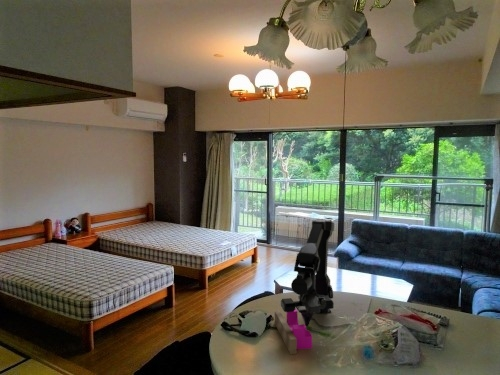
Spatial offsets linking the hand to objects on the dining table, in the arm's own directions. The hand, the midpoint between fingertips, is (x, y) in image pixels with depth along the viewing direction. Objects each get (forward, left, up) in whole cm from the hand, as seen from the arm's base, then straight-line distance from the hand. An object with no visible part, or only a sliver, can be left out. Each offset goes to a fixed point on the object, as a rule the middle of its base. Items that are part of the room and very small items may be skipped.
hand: (306, 325), depth 125 cm
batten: (0, -8, -4) cm, 9 cm away
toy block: (+1, -3, -4) cm, 5 cm away
